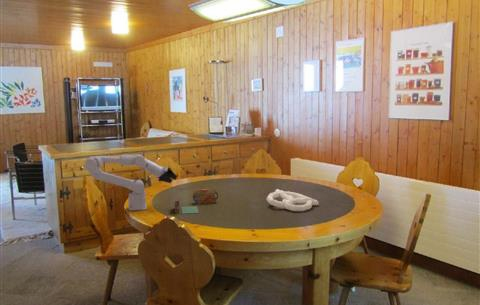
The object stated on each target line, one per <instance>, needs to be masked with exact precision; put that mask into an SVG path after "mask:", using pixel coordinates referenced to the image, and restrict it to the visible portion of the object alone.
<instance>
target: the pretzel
mask: <svg viewBox="0 0 480 305" xmlns="http://www.w3.org/2000/svg"><path fill="white" fill-rule="evenodd" d="M276 198H281V199H282V201H281V200H277V199H276ZM266 201H267V202H268V203H269V204H270V205H271V206H274V207H277V208H280V209H282V210H288V211H289V210H290V211H291V212H292V211H293V212H305V211H308V210H311V208H312V207H313V206H315V205H316V206H318V205H319V204H320V203H319V201H318V200H317V199H315V198H311V196H310V197H309V196H307V195H304V194H301V193H298V192H294V191H289V190H287V191H285V190H280V189H278V188H277V189H275V190H274V191H273V192H270V193H269V194H268V195H267V197H266Z"/></svg>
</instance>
